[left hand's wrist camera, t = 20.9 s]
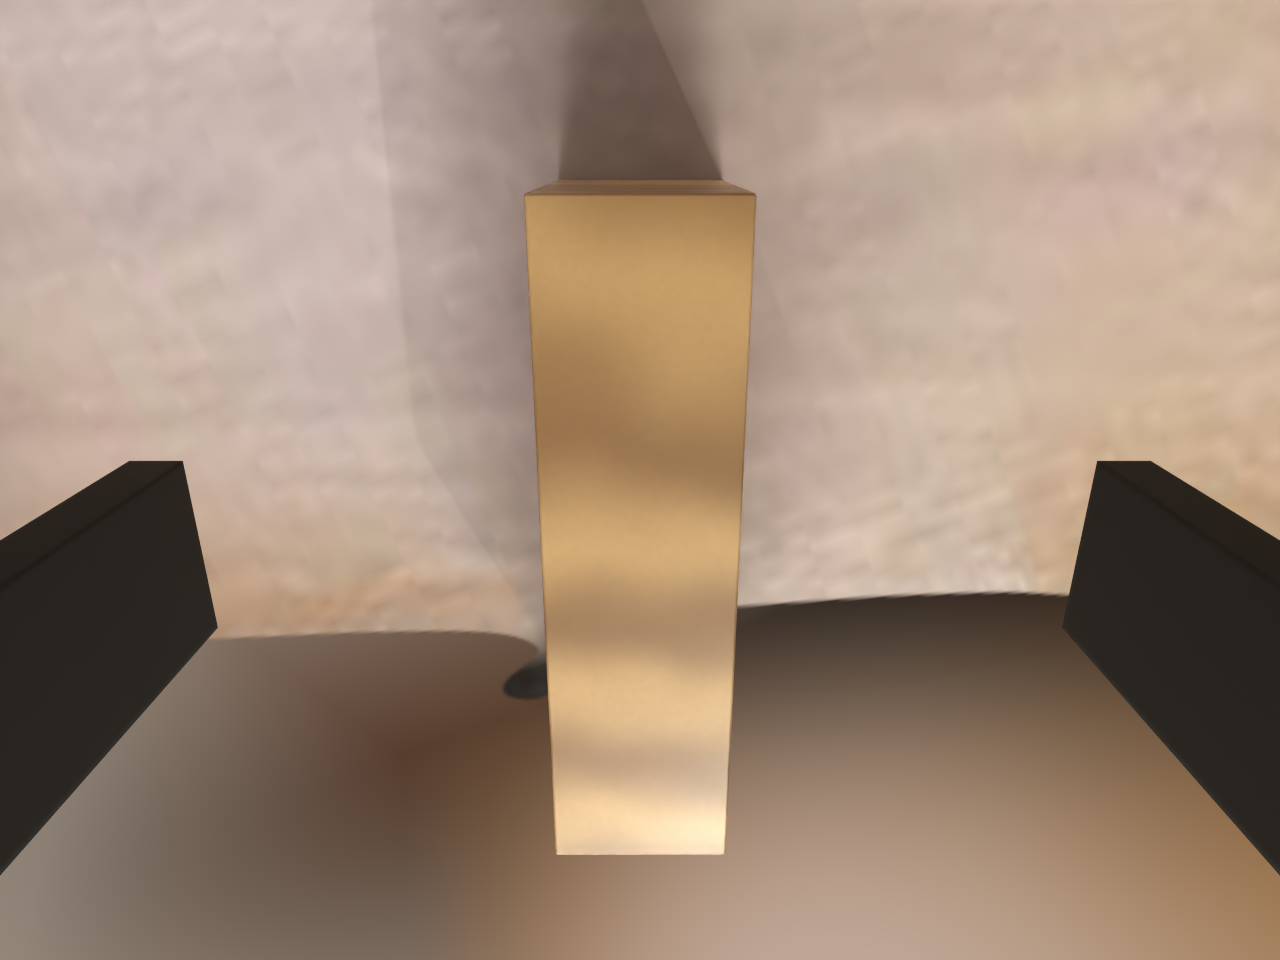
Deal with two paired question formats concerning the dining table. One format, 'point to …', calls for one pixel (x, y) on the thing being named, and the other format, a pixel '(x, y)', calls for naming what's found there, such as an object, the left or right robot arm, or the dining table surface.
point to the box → (640, 500)
